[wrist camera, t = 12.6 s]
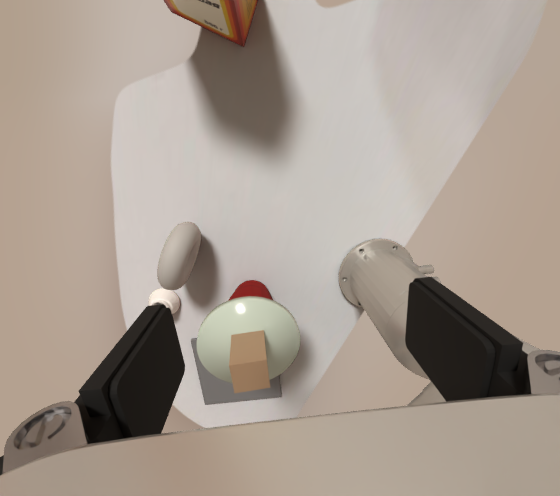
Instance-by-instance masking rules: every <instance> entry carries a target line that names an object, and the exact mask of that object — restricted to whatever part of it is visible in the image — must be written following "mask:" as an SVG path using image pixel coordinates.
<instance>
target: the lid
mask: <svg viewBox="0 0 560 496" xmlns="http://www.w3.org/2000/svg"><path fill="white" fill-rule="evenodd" d="M299 347H300V333H299V329H298V326H297V323H296V321H295V319H294V317H293V316H292V314H291V313H290V312H289V311H288V310H287V309H286V308H285V307H284V306H282V305H281V304H279V303H277V302H275V301H273V300H271V299H267V298H264V297H257V296H247V297H239V298H235V299H232V300H229V301H226V302H224V303H222V304H221V305H219V306H217V307H216V308H215V309H213V310H212V311H211V312H210V313H209V314H208V315H207V316H206V318H205V319H204V321H203V323H202V324H201V327H200V330H199V333H198V337H197V353H198V356H199V359H200V361H201V363H202V364H203V366H204V367H205V368H206V369H207V370H208V371H209V372H210V373H211V374H212V375H214V376H215V377H217V378H219V379H221V380H223V381H226V382H229V383H233V388H234V393H240V392H246V391H252V390H258V389H264V388H270V379H273V378H275V377H276V376H278V375H280V374H281V373H283V372H284V371H285V370H286V369H287V368H288V367H289V366H290V365H291V364H292V363H293V361H294V360H295V358H296V356H297V354H298V351H299Z"/></svg>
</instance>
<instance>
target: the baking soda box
mask: <svg viewBox="0 0 560 496" xmlns="http://www.w3.org/2000/svg"><path fill="white" fill-rule="evenodd" d="M164 2H165V3H166V5H167V6H168V8H169V9H170V11H171V12H172V13H175V14H177V15H179V16H181V17H183V18H185V19H187V20H189V21H191V22H193V23H195V24H198V25H199V26H201V27H203V28H206V29H208V30H210V31H212V32H214V33H216V34H218V35H220V36H222V37H224V38H226V39H228V40H230V41H232V42H235V43H237V44H239V45H241V46H243V47H244V44H245V41H246V38H247V35H248V31H249V28H250V25H251V22H252V18H253V15H254V12H255V8H256V5H257V2H258V0H164Z"/></svg>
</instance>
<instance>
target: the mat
mask: <svg viewBox="0 0 560 496" xmlns="http://www.w3.org/2000/svg"><path fill="white" fill-rule="evenodd" d="M191 344H192V348H193V353H194V357H195V362H196V366H197V370H198V375H199V379H200V384H201V388H202V393H203V397H204V402H205V405H208V404H218V403H227V402H237V401H247V400H257V399H267V398H277V397H281V387H280V378H279V375H278V376H276V377H275V378H273V379H270V388H264V389H258V390H252V391H246V392H240V393H234V388H233V383H229V382H226V381H223V380H221V379H219V378H217V377H215V376H214V375H212V374H211V373H210V372H209V371H208V370H207V369H206V368H205V367H204V366H203V364H202V363H201V361H200V359H199V356H198V353H197V338H194V339H191Z"/></svg>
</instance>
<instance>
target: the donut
mask: <svg viewBox="0 0 560 496" xmlns="http://www.w3.org/2000/svg"><path fill="white" fill-rule="evenodd" d="M200 242H201V232H200V230H199V228H198V227H197V226H196V225H195V224H194V223H192V222H184V223H180V224H178V225H177V226H176V227H175V228H174V229H173V230H172V232H171V233H170V235H169V236H168V238H167V240H166V242H165V244H164V247H163V250H162V252H161V255H160V259H159V263H158V269H157V276H158V281H159V283H160V285H161V286H162V287H163V288H164V289H167V290H177V289H179V288H181V287H182V286H183V285H184V284H185V283H186V281H187V279H188V278H189V276H190V274H191V271H192V269H193V266H194V264H195V261H196V258H197V255H198V251H199V247H200Z"/></svg>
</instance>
